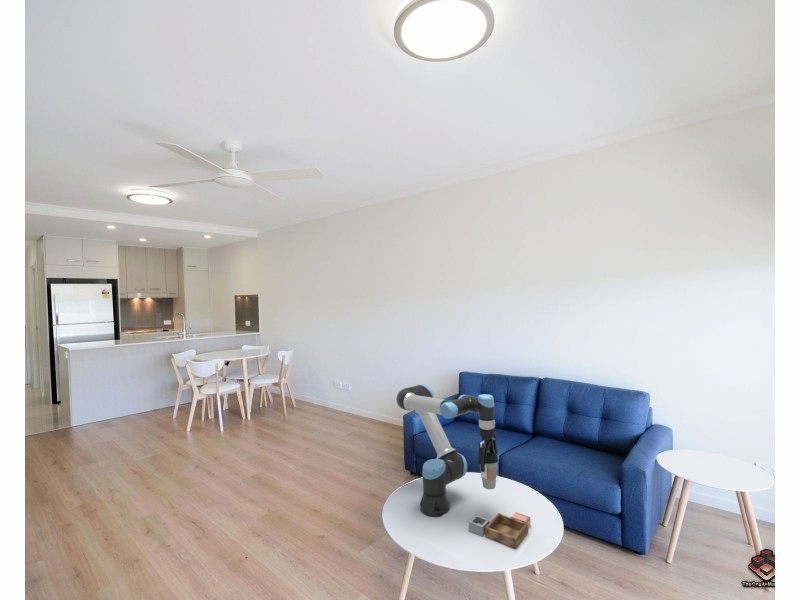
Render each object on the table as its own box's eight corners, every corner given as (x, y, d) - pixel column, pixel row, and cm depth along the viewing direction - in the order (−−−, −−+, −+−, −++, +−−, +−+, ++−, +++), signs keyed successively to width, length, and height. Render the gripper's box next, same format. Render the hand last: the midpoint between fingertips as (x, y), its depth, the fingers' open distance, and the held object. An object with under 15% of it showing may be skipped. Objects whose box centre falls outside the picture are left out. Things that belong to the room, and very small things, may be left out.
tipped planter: (511, 527, 178) (511, 517, 178) (515, 522, 182) (515, 512, 182) (526, 533, 174) (526, 522, 174) (530, 527, 177) (530, 517, 177)
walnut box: (485, 538, 171) (485, 527, 171) (499, 523, 181) (498, 513, 181) (515, 551, 162) (515, 539, 162) (528, 534, 173) (527, 523, 173)
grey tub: (468, 532, 175) (468, 521, 175) (476, 525, 181) (475, 514, 181) (482, 538, 171) (482, 527, 171) (489, 530, 176) (489, 519, 176)
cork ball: (474, 530, 176) (474, 523, 176) (477, 527, 178) (477, 520, 178) (480, 532, 174) (480, 526, 174) (483, 529, 176) (483, 523, 176)
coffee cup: (499, 491, 180) (498, 459, 180) (479, 490, 182) (478, 459, 182) (498, 482, 189) (497, 451, 189) (478, 481, 191) (477, 451, 191)
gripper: (483, 435, 175) (485, 485, 175) (503, 422, 192) (505, 467, 192) (468, 432, 179) (470, 480, 179) (489, 420, 197) (491, 463, 197)
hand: (488, 473), depth 186 cm, fingers closed on coffee cup, 9 cm apart
